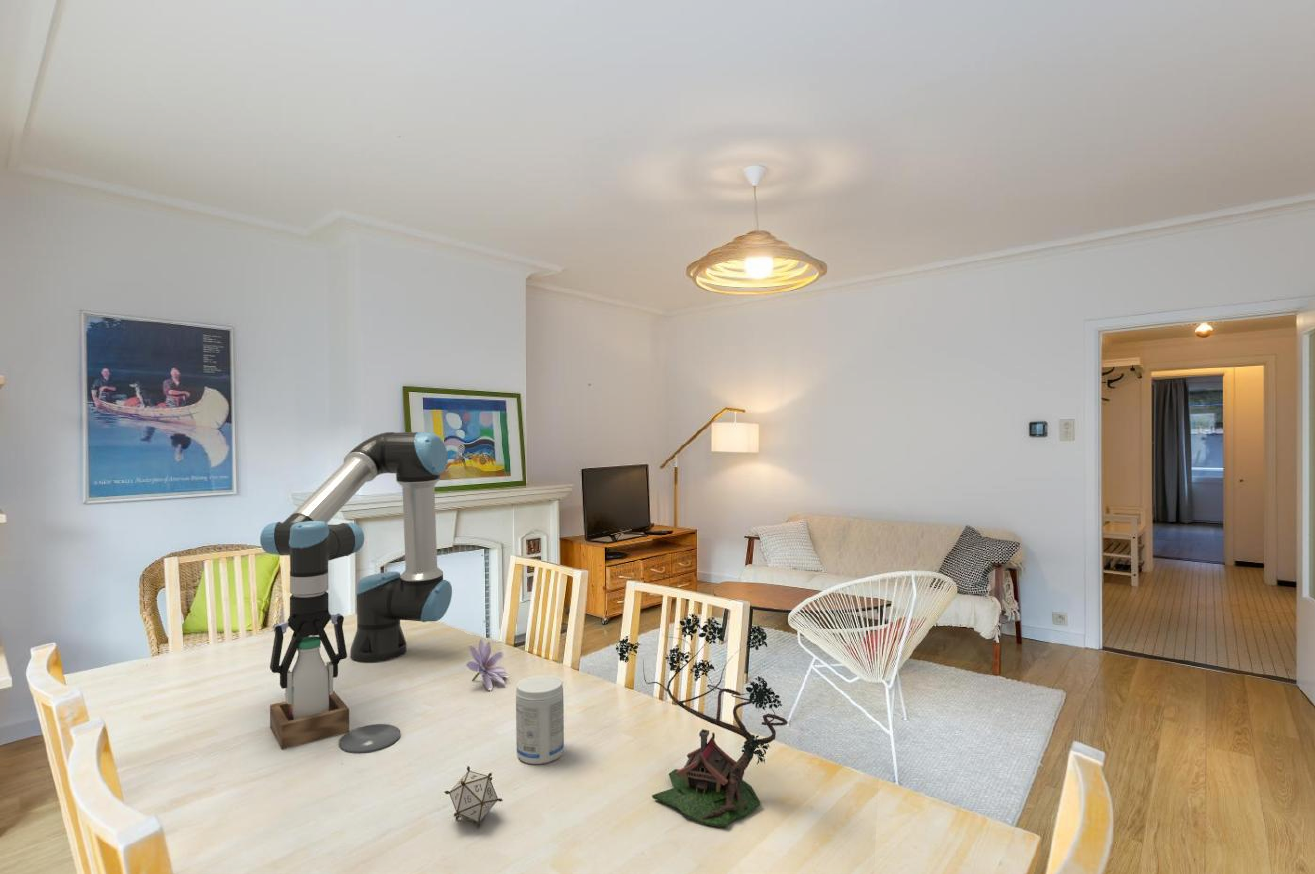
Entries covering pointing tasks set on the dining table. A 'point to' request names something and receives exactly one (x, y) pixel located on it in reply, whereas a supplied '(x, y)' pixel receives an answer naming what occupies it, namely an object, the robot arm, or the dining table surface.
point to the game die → (473, 796)
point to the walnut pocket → (308, 723)
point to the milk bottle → (309, 681)
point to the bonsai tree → (710, 773)
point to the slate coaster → (369, 738)
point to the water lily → (486, 664)
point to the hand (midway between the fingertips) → (309, 696)
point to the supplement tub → (539, 719)
